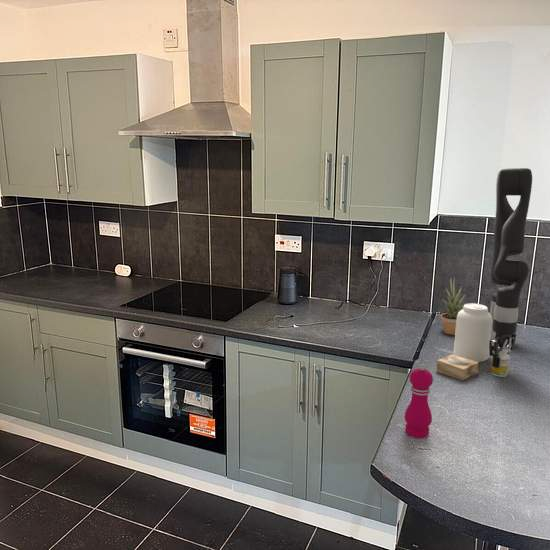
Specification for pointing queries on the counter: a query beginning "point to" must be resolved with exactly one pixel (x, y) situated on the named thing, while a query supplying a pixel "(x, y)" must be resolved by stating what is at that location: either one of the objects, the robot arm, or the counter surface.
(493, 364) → the robot arm
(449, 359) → the pedestal
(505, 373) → the supplement bottle
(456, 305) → the potted plant
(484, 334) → the white jar
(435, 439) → the counter surface
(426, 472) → the counter surface
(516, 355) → the counter surface
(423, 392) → the pepper mill
